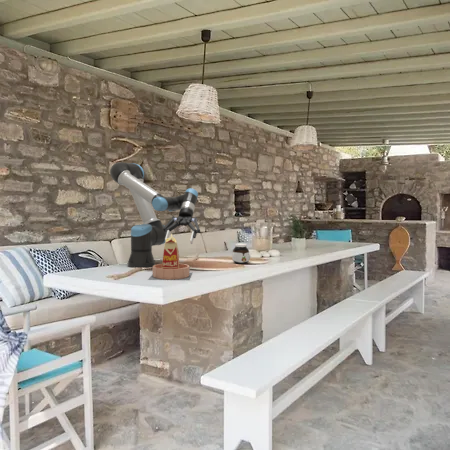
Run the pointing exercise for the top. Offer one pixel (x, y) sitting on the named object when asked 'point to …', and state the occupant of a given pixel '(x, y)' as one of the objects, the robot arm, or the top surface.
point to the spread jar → (240, 254)
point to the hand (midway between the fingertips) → (178, 241)
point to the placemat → (175, 279)
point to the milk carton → (171, 254)
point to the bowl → (171, 272)
